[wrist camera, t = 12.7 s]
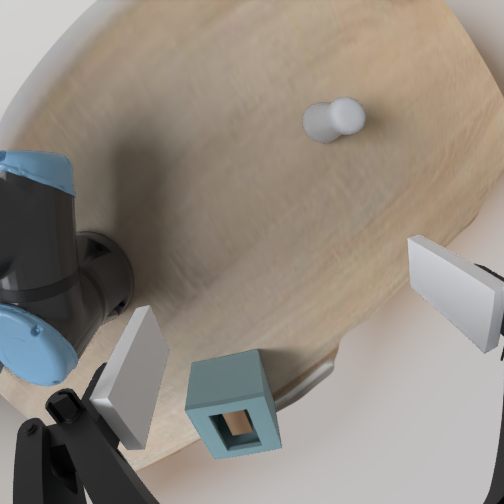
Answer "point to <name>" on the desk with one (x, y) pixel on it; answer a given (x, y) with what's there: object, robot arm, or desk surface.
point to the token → (239, 422)
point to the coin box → (232, 404)
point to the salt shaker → (334, 119)
